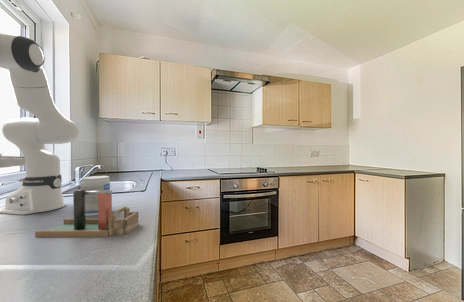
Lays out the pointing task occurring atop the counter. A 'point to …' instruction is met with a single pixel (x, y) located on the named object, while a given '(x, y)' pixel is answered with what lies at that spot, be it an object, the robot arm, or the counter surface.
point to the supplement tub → (94, 185)
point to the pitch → (69, 231)
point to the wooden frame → (122, 222)
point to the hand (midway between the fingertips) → (25, 160)
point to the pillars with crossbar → (103, 208)
